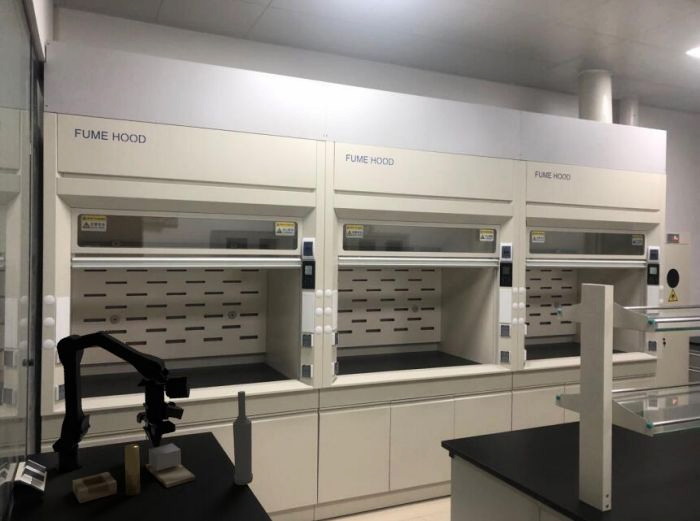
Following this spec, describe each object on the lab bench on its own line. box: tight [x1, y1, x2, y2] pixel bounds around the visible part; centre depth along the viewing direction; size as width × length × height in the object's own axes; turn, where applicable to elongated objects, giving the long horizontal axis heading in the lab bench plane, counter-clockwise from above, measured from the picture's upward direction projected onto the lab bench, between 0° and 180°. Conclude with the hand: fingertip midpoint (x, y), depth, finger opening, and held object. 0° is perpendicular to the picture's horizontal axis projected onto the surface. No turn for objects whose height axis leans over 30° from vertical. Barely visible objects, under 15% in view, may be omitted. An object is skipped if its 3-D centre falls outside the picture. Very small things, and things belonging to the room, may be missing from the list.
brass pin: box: [124, 443, 141, 497], centre depth 145 cm, size 4×4×12 cm
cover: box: [148, 442, 182, 471], centre depth 160 cm, size 7×7×4 cm
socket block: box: [72, 471, 118, 504], centre depth 145 cm, size 9×9×3 cm
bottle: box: [232, 390, 254, 486], centre depth 150 cm, size 5×5×25 cm
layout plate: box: [145, 463, 196, 489], centre depth 157 cm, size 18×8×1 cm, turn 38°
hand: (156, 449), depth 166 cm, fingers closed
